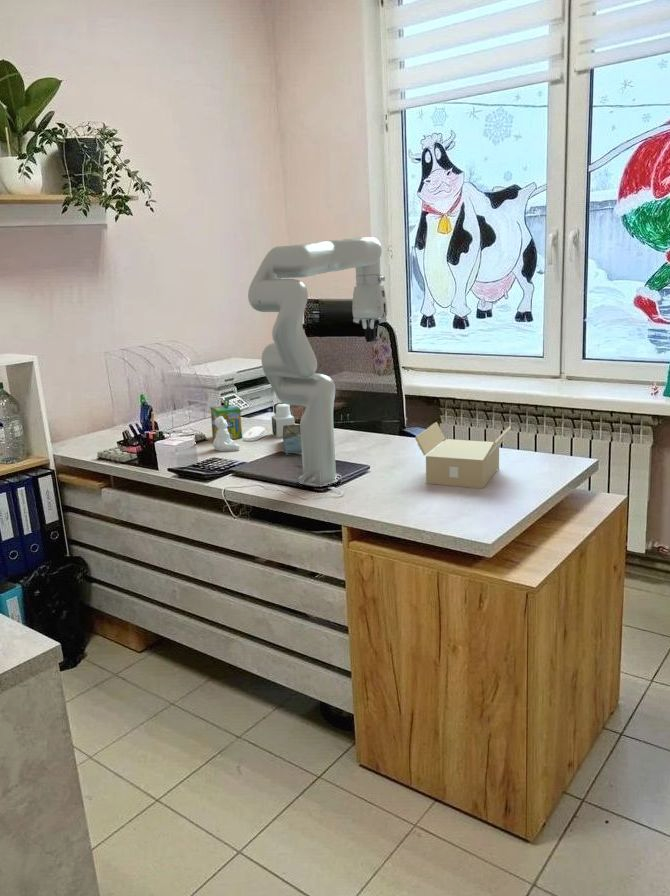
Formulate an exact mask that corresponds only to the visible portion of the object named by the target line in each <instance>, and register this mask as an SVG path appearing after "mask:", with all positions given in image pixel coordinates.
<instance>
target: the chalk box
mask: <svg viewBox="0 0 670 896" xmlns="http://www.w3.org/2000/svg"><path fill="white" fill-rule="evenodd" d="M229 403H230V398H227V397H225V398H224V401H223V405H217V406H210V416H211V417H210V419H211V420H210V421H211V432H212V433H211V435H212V438H214V439H215V438H216V433H217V430H218V428H217V427H216V425H215V419H216V418H218V417H219V416H223V418H224V419H225V420H226V422H227V424H228V426H227V429H228V432H229V434H230V435H229V436H230V439H232V440H239V439H243V430H242V429H243V428H242V415H241V408H240V407H239V406H237V405H236V404H229Z"/></svg>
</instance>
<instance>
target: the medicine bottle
mask: <svg viewBox="0 0 670 896" xmlns="http://www.w3.org/2000/svg"><path fill="white" fill-rule="evenodd" d="M291 412H292V411H291V405H287V404H284V403H283V402H278V403H275V404H273V414H274V415H273V414H272V415H271V427H272V428H271V429H272V435H273V434H274V435H273V436H274V437H276V438H277V439H279V438H278V437H280V438H283V426H285V425H296V423H295V417H294V416H293V415H292V414H291Z"/></svg>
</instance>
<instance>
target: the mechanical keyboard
mask: <svg viewBox="0 0 670 896" xmlns="http://www.w3.org/2000/svg"><path fill="white" fill-rule="evenodd" d="M166 433H183V434H189V433H190V432H188V431H186V432H185V431H183V430H177V429H174V430H172V431H167V432H166ZM192 434H194V435H195V442H196V444H195V445H198V444H201V443H204V442H207V441H209V439H208V438H207V437H206V435H205V434H201V433H192ZM96 460H99V461H104V462H108V463H109V462H110V463H115V464H128V463H130V464H128V466H130V465H134V464H135V462H137V461H139V460H137V456H136V454H130V453H127V452H122V451H120V449H119V448H118V446H115V447H111V448H108V449H104V450H103V451H102V450H101V451H98V452H97V458H96ZM133 462H134V463H133Z"/></svg>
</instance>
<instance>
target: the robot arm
mask: <svg viewBox="0 0 670 896" xmlns="http://www.w3.org/2000/svg"><path fill="white" fill-rule="evenodd" d="M382 251H383V250H382V245H381V243H380V241H379V240H378V239H377V238H376V237H373V236H371V237H370V236H369V237H355V238H354V237H353V238H343V239H340V240H338V239H335V240H322V241H315V242H311V243H303V244H293V245H282V246H281V245H280V246H275V247H272V248H271V249H270V250H269V251H268V252H267V253H266V255H265V256H264V258H263V260H262V261H261V262H260V263H261V264H260V265H259V266H258V269H257V271H256V273H255V275H254V276H253V279H252V281H251V283H250V285H249V288H248V293H247V297H248V303H249V305H250V306H251V308H252V309H254V310H256V311H257V312H261V313H278V314H277V316H276V319H275V322H274V324H273V327H272V330H271V337H272V341H273V342H272V343H269V344H267V345H266V346H265V347H264V349H263V350H262V353H261V357H260V358H261V367H262V370H263V373H264V375H265V377H266V379H267V381H268V382H269V385H270V386H271V388H272V390H273V392H274V394H275V395H276V397H277V399H278V400H279V401H280V403H284V404H287V405H290V406H296V407H297V406H298V407H305V410H304V412H303V414H302V415H301V418H300V423H299V424H300V431H301V448H302V453H301V460H302V461H301V463H302V475H300V476H299V477H298V478H297V483H298V482H299V483H300V484H303V483H305V482H310V483H317V484H331V483H335V482H337V481H338V480H337V479H336V478H338V479H340V478H339V477H337V476H340V477H341V478H342V475H341V474H340V473H337V469H336V449H335V448H336V447H335V430H334V428H335V427H334V405H335V399H336V397H335V396H336V384H335V382H334V379H332V378H331V377H330V376H328V375H327V374H323V373H317V372H316V371H317V369H318V360H317V357H316V354H315V352H314V349H313V348H312V346H311V344H310V342H309V340H308V337H307V335H306V332H305V329H304V327H303V322H304V316H305V315H304V314H305V311H306V306H307V303H308V296H309V294H308V289H307V286H306V285H305V283H304V282H303V281H301V280H299V279H298V278H307V277H312V276H317V275H321V274H322V275H323V274H327V273H331V272H332V273H333V272H339V271H344V270H348V269H354V268H355V286H354V287H353V293H352V305H351V307H352V310H351V311H352V316H353V319H352V322H353V323H355V324H359V325H360V326H361V327H362V329H364V339H365V340H366V341H365V342H366V343H372V342H375V339H376V337H377V336H376V334H377V333H376V329H377V328H378V326H379V325H380V324H382V323H385V322H387V319H388V318H387V316H388V304H387V295H386V290H385V286H384V284H382V283H383V282H385V281H386V277H385V276H382V274H381V257H382ZM295 278H296V279H295ZM334 479H335V480H334ZM299 483H298V484H299ZM300 484H299V485H300Z"/></svg>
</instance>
